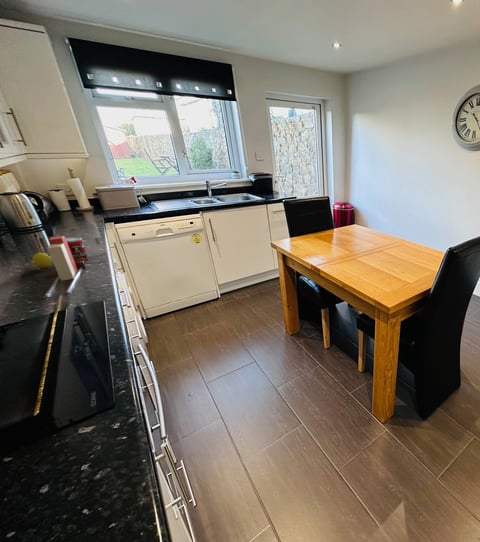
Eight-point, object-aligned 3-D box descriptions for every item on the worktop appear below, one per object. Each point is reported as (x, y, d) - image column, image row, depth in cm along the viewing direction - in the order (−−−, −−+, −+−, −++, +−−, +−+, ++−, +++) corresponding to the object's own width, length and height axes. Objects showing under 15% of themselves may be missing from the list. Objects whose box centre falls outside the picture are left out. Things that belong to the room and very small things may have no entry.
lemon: (49, 270, 125) (42, 254, 122) (33, 271, 124) (25, 254, 121) (57, 266, 130) (50, 250, 127) (42, 267, 129) (35, 250, 126)
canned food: (70, 264, 133) (61, 242, 128) (65, 261, 137) (56, 239, 132) (91, 260, 139) (83, 238, 134) (86, 256, 143) (78, 235, 138)
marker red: (63, 276, 118) (48, 239, 111) (66, 272, 121) (51, 236, 115) (75, 274, 120) (61, 238, 114) (78, 270, 123) (64, 235, 117)
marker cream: (60, 280, 114) (47, 247, 108) (63, 276, 118) (50, 244, 112) (73, 278, 116) (60, 246, 111) (75, 274, 120) (63, 243, 114)
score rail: (43, 301, 101) (38, 290, 99) (62, 273, 123) (58, 264, 122) (73, 295, 105) (69, 285, 104) (86, 269, 128) (83, 261, 126)
